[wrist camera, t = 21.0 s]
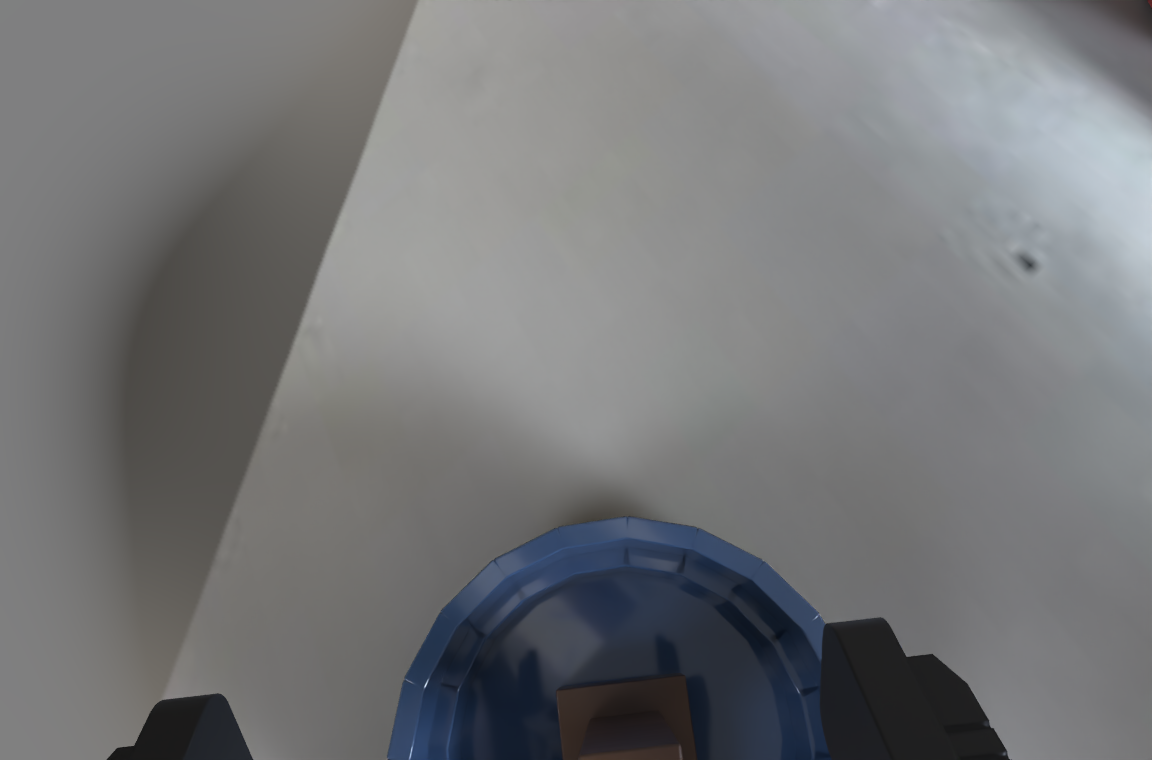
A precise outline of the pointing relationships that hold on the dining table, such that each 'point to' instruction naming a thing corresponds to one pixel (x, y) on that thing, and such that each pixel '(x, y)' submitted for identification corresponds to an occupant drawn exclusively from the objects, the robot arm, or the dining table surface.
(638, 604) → the bowl
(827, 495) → the dining table surface
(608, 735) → the square wall hook
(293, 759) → the dining table surface
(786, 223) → the dining table surface
